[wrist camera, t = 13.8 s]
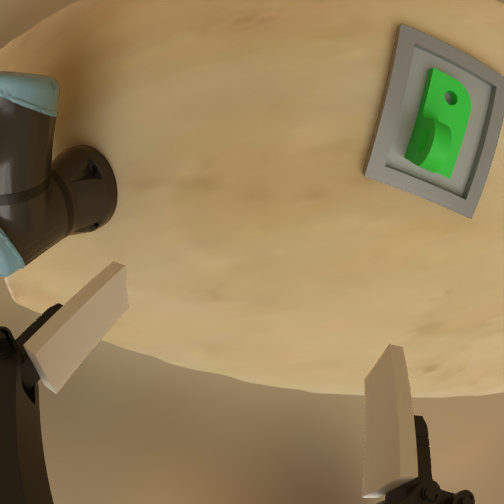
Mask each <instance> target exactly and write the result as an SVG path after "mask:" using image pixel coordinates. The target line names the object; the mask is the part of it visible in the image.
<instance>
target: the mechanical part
mask: <svg viewBox="0 0 504 504" xmlns="http://www.w3.org/2000/svg"><path fill="white" fill-rule="evenodd" d="M446 92H448V93H449V95H450V96H451V103H450V104H448V103H447V102H446V100H445V93H446ZM470 112H471V100H470V96H469V94H468V92H467V90H466V88H465V87H464V86H463V85H462V84H461V83H460V82H459V81H458V80H456V79H455V78H453V77H451V76H449V75H447V74H445V73H443V72H441V71H439V70H437V69H435V68H431V69H429V70H428V73H427V77H426V82H425V86H424V90H423V94H422V98H421V102H420V106H419V110H418V113H417V117H416V120H415V124H414V127H413V131H412V134H411V137H410V141H409V144H408V147H407V150H406V153H405V156H404V158H406V159H407V160H409V161H410V162H412V163H413V164H415V165H416V166H419V167H421V168H423V169H425V170H428V171H430V172H432V173H435V172H436V173H438V174H440V175H442V176H444V177H446V178H449V179H450V177H451V175H452V172H453V169H454V166H455V163H456V160H457V157H458V154H459V151H460V148H461V144H462V141H463V138H464V134H465V131H466V127H467V123H468V120H469V116H470Z"/></svg>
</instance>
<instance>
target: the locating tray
mask: <svg viewBox="0 0 504 504" xmlns="http://www.w3.org/2000/svg"><path fill="white" fill-rule="evenodd" d="M431 68H435V69H437V70H439V71H441V72H443V73H445V74H447V75H449V76H451V77H453V78H455V79H456V80H458V81H459V82H460V83H461V84H462V85H463V86H464V87H465V88H466V90H467V92H468V94H469V96H470V100H471V112H470V116H469V120H468V123H467V127H466V131H465V134H464V138H463V141H462V144H461V148H460V151H459V154H458V157H457V160H456V163H455V166H454V169H453V172H452V175H451V177H450V179H449V178H446V177H444V176H442V175H440V174H438V173H436V172H435V173H432V172H430V171H428V170H425V169H423V168H421V167H419V166H416V165H415V164H413V163H412V162H410V161H409V160H407V159H406V158H404V156H405V153H406V150H407V147H408V144H409V141H410V137H411V134H412V131H413V127H414V124H415V120H416V117H417V113H418V110H419V106H420V102H421V98H422V94H423V90H424V86H425V82H426V77H427V73H428V70H429V69H431ZM445 100H446V102H447V103H448V104H450V103H451V96H450V95H449V93H448V92H446V93H445ZM503 117H504V77H503V76H501V75H500V74H498V73H497V72H495V71H494V70H492V69H491V68H489V67H488V66H486V65H484V64H483V63H481V62H479V61H478V60H476V59H474V58H473V57H471V56H469V55H467V54H466V53H464V52H462V51H460V50H458V49H456V48H455V47H453V46H451V45H449V44H447V43H445V42H443V41H441V40H439V39H436V38H434V37H432V36H430V35H428V34H426V33H423V32H421V31H419V30H416V29H414V28H411V27H409V26H406V25H404V24H400V26H399V27H398V28H397V34H396V40H395V45H394V50H393V55H392V60H391V65H390V70H389V75H388V79H387V84H386V88H385V92H384V96H383V101H382V105H381V109H380V113H379V117H378V120H377V124H376V128H375V132H374V135H373V139H372V143H371V146H370V150H369V153H368V157H367V160H366V163H365V167H364V170H363V175H364V177H367V178H370V179H373V180H376V181H379V182H381V183H384V184H387V185H390V186H393V187H395V188H398V189H401V190H403V191H406V192H409V193H411V194H414V195H416V196H419V197H421V198H424V199H426V200H429V201H431V202H434V203H436V204H439V205H441V206H443V207H446V208H448V209H450V210H452V211H455V212H457V213H459V214H461V215H464V216H466V217H468V218H470V219H472V217H473V214H474V212H475V209H476V207H477V204H478V201H479V199H480V196H481V193H482V191H483V188H484V185H485V182H486V179H487V176H488V173H489V170H490V167H491V163H492V160H493V157H494V153H495V150H496V146H497V142H498V138H499V134H500V130H501V126H502V122H503Z"/></svg>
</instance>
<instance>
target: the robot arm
mask: <svg viewBox="0 0 504 504" xmlns="http://www.w3.org/2000/svg"><path fill="white" fill-rule="evenodd" d="M59 91H60V88H59V84H58V82H57V81H56V80H55V79H54V78H52V77H48V76H44V75H38V74H31V73H21V72H6V71H0V276H1V277H7V276H9V275H11V274H13V273H14V272H16V271H17V270H19V269H20V268H21V269H22V268H24V267H25V266H26V265H27V264H29V263H30V262H31V261H33V260H34V259H35V258H37V257H38V256H39V255H41V254H42V253H44V252H45V251H46V250H48V249H49V248H51V247H52V246H53V245H55V244H56V243H58V242H59V241H61V240H62V239H64V238H65V237H67V236H68V235H74V234H80V233H87V232H92V231H95V230H97V229H98V228H100V227H102V226H103V225H105V224H106V223H107V222H108V221H109V220H110V219H111V217H112V216H113V214H114V211H115V208H116V202H117V188H116V182H115V178H114V175H113V172H112V170H111V168H110V166H109V164H108V162H107V161H106V159H105V158H104V157H103V155H102V154H101V153H99V152H98V151H97V150H96V149H94V148H92V147H90V146H86V145H80V146H76V147H72V148H69V149H67V150H65V151H63V152H62V153H61V154H60V155H58V156H57V157H56V158H55V159H54V160H52V147H53V137H54V129H55V122H56V117H57V116H58V112H57V107H58V99H59ZM51 160H52V161H51ZM128 308H129V304H128V294H127V282H126V268H125V265H122V264H119V263H117V262H114V261H113V262H112V263H111V264H110V265H108V266H107V267H106V268H105V269H104V270H103V271H101V272H100V273H99V274H98V275H97V276H96V277H95V278H93V279H92V280H91V281H90V282H89V283H88V284H87V285H85V286H84V287H83V288H82V289H81V290H80V291H79V292H78V293H77V294H75V295H74V296H73V297H72V298H71V299H70V300H69V301H68V302H67V303H66V304H65V305H64V306H63V305H61V304H59V303H58V304H56V305H54V306H52V307H50V308H48V309H47V310H46V311H45V312H44V313H43V314H42V316H40V317H39V318H38V319H37V320H36V322H34V323H33V324H31V325H30V327H28V328H27V329H26V330H25V331H24V332H23V333H22V334H21V335H20V336H19V337H18V338H17V339H16V340H15V339H14V337H13V335H12V333H11V331H10V330H9V329H8V328H6V327H0V504H53V499H52V495H51V491H50V486H49V481H48V477H47V471H46V465H45V459H44V452H43V444H42V435H41V425H40V410H39V387H38V380H39V379H40V378H41V380H42V382H43V383H44V385H45V386H46V387H47V388H49V389H50V390H51V391H53V392H54V393H56V394H57V393H58V392H59V390H60V389H61V388H62V386H63V385H64V384H65V383H66V381H67V380H68V379H69V377H70V376H71V375H72V374H73V373H74V371H75V370H76V369H77V368H78V366H79V365H80V364H81V363H82V362H83V360H84V359H85V358H86V357H87V355H88V354H89V353H90V352H91V351H92V349H93V348H94V347H95V346H96V345H97V344H98V342H99V341H100V340H101V339H102V338H103V336H104V335H105V334H106V333H107V332H108V331H109V329H110V328H111V327H112V326H113V325H114V324H115V323H116V321H117V320H118V319H119V318H120V317H121V316H122V314H123V313H124V312H125V311H126V310H127V309H128ZM385 494H386V497H385V500H384V501H382V502H379V503H377V504H475V500H474V496H473V494H472V493H471V492H470V491H468V490H463V491H460V492H458V493H456V494H454V493H450V492H447V491H443V490H441V489H440V487H439V485H438V484H437V482H435V481H433V479H432V474H431V458H430V448H429V439H428V429H427V425H426V423H425V421H424V419H423V417H422V416H415V415H414V414H413V407H412V399H411V392H410V385H409V379H408V373H407V367H406V361H405V356H404V351H403V347H400V346H396V345H391V344H389V345H388V347H387V348H386V350H385V351H384V353H383V354H382V356H381V357H380V359H379V360H378V362H377V363H376V364H375V366H374V367H373V369H372V370H371V371H370V373H369V374H368V376H367V377H366V378H365V453H364V473H363V486H362V498H378V497H381V496H382V495H385Z"/></svg>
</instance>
